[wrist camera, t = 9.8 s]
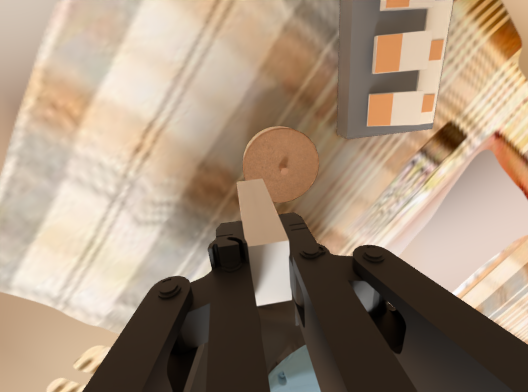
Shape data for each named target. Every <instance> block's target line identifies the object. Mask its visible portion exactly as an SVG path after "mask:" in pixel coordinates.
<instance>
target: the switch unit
mask: <svg viewBox="0 0 528 392" xmlns="http://www.w3.org/2000/svg"><path fill="white" fill-rule="evenodd" d="M453 1H454V0H435V2H434V7H431V8H428V9H411V10H392V11H380V2H381V0H340V24H339V64H338V105H337V135H339V136H341V137H343V138H346V139H353V138H361V137H370V136H378V135H386V134H394V133H403V132H411V131H419V130H428V129H432V127H433V121H434V115H435V109H436V103H437V97H438V91H439V85H440V79H441V73H442V67H443V61H444V55H445V49H446V43H447V37H448V31H449V25H450V19H451V13H452V7H453ZM428 30H433V34H432V40H431V47H430V54H429V61H428V68H427V69H422V70H412V71H401V72H390V73H379V74H372V63H373V49H374V37H375V36H379V35H388V34H398V33H408V32H418V31H428ZM421 90H423V91H424V96H423V103H422V110H421V117H420V124H419V125H399V126H367V113H368V98H369V94H376V93H391V92H406V91H421Z"/></svg>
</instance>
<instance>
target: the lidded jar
mask: <svg viewBox="0 0 528 392" xmlns="http://www.w3.org/2000/svg"><path fill="white" fill-rule="evenodd" d="M318 168H319V158H318V153H317V150H316V148H315V146H314V144H313V143H312V141H311V140H310V139H309V138H308V137H307V136H305V135H304V134H303V133H301V132H299V131H297V130H294V129H291V128H288V127H283V126H274V127H269V128H266V129H264V130H262V131H260V132H259V133H257V134H256V135H255V136H254V137H253V138H252V139H251V140H250V141H249V143H248V145H247V147H246V149H245V152H244V157H243V173H244V177H245V180H246V181H247V180H255V179H263V181H264V183H265V185H266V188H267V190H268V192H269V195H270V197H271V199H272V202H276V203H281V202H288V201H291V200H294V199H296V198H298V197H300V196H301V195H303V194H304V193H305V192H306V191H307V190H308V189H309V188H310V187H311V185H312V184H313V182H314V181H315V178H316V176H317V173H318Z"/></svg>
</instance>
